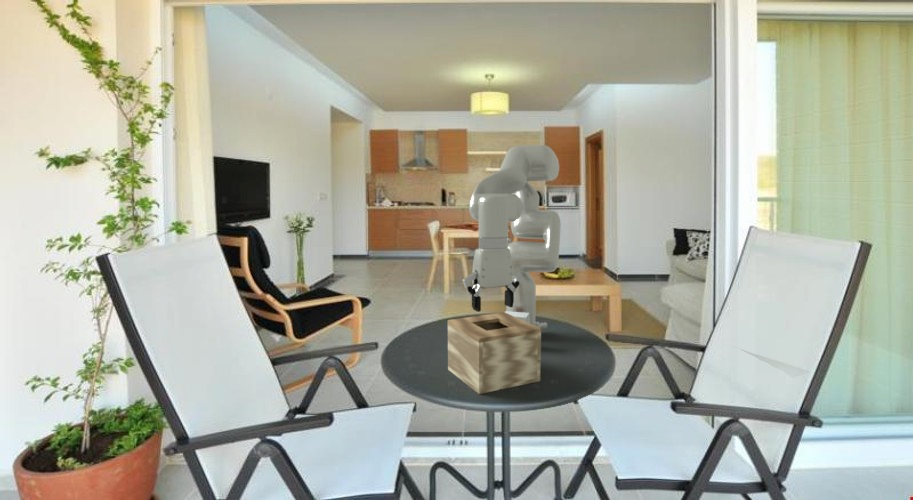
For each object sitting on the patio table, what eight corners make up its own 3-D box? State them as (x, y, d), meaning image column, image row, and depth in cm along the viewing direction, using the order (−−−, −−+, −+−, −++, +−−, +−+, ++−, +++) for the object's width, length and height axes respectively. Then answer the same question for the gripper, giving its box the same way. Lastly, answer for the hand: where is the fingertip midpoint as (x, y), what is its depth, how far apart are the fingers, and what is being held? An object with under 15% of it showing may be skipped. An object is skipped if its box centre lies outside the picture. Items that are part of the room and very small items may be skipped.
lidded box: (504, 359, 147) (504, 312, 145) (540, 380, 131) (541, 328, 129) (448, 369, 139) (447, 320, 137) (479, 394, 123) (479, 338, 121)
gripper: (513, 240, 137) (513, 301, 140) (456, 244, 130) (457, 309, 132) (529, 243, 131) (528, 307, 133) (470, 247, 123) (470, 315, 126)
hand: (492, 308), depth 133 cm, fingers open, 9 cm apart
